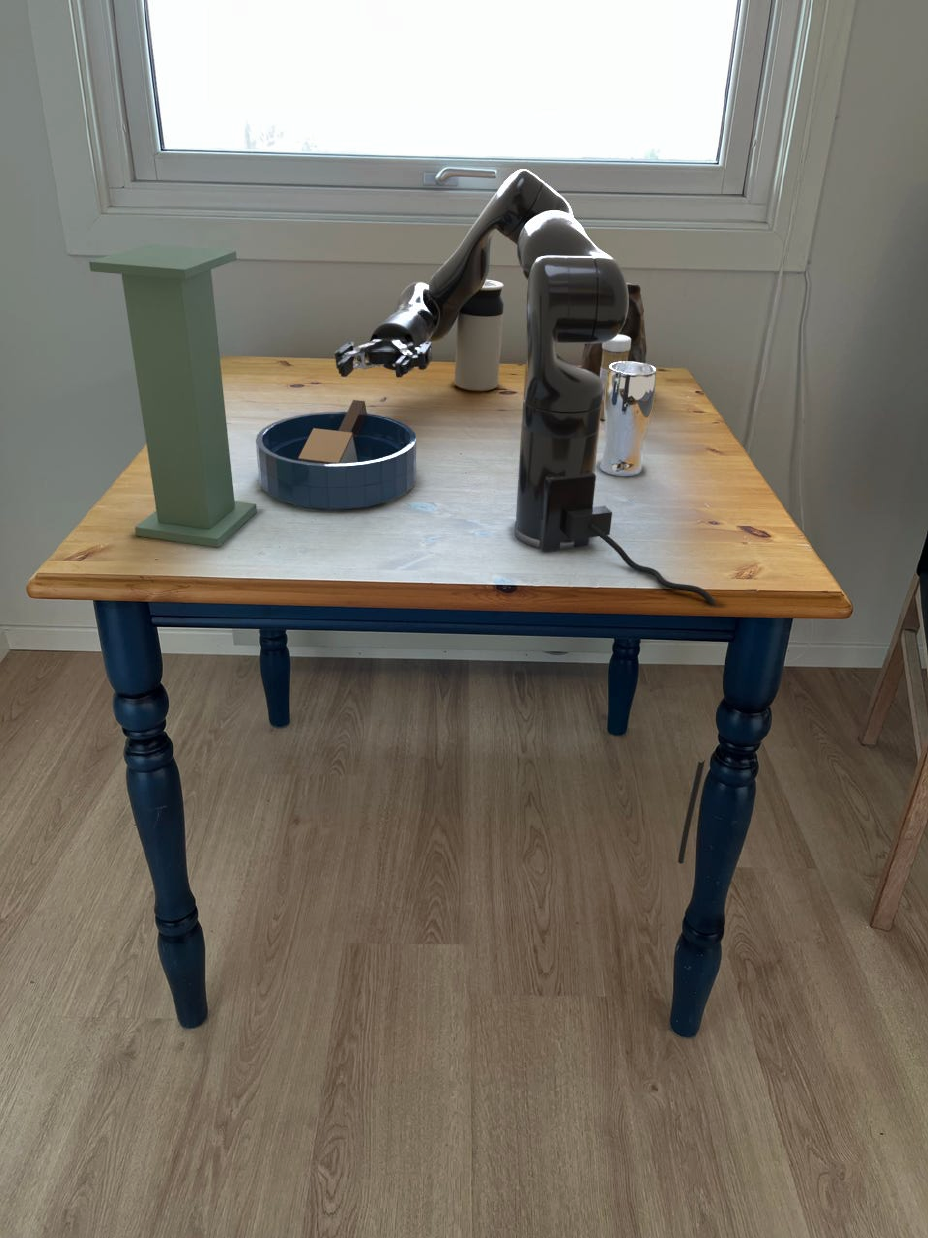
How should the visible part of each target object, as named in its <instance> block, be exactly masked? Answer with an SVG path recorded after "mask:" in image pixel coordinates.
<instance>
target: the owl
mask: <svg viewBox="0 0 928 1238" xmlns="http://www.w3.org/2000/svg"><path fill="white" fill-rule="evenodd" d="M627 287H628V294H629V308H628V314H627V318H626V321H625V324H624V326H623V328H622V329H621V331H620V332H619V335H625V336H628V337H630V338H631V347H630V350H629V353H628V362H640V363H645V364H647V361H646V359H647V357H646V356H647V353H648V351H647V348H648V347H647V342H646V341H647V339H646V338H647V337H646V331H645V330H646V329H645V317H644V316H645V315H644V312H645V309H644V304H643V297H642V294H641V286H640V285H639V284H634V283H631V282H627ZM602 354H603V348H602V343H597V344H583V349H582V354H581V366H580V367H581V368H584V369H586V370H589V371H591V372H593V373H595V374H596V375H597V376H599V377H600V370H601V363H602Z"/></svg>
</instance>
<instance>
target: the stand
mask: <svg viewBox="0 0 928 1238" xmlns="http://www.w3.org/2000/svg"><path fill="white" fill-rule="evenodd" d="M237 259H238V257H237V250H234V249H233V250H232V249H231V250H230V249H220V248H208V247H207V248H203V247H192V246H179V245H169V244H168V245H167V244H154V243H147V244H144V245H140V246H137V247H133V248H129V249H126V250H123V251H119V252H117V253H112V254H110V255H106V256H102V257H99V258H96V259H92V260H89V262H88V264H89V270H90V272H92V273H93V272H94V273H106V274H118V275H121V280H122V288H123V293H124V294H123V295H124V302H125V308H126V314H127V315H126V316H127V322H128V328H129V335H130V343H131V348H132V355H133V362H134V368H135V369H134V370H135V377H136V382H137V388H138V396H139V397H138V398H139V403H140V409H141V416H142V422H143V429H144V437H145V443H146V450H147V458H148V464H149V471H150V478H151V485H152V491H153V497H154V504H155V505H154V506H155V511H153V513H151V514H150V515H148V516H147V517H145V519H143V520H142V521H140V522H139V523H138V524H137V525H135V526H134V530H135V536H136V537H141V538H149V539H155V540H156V539H157V540H162V541H164V540H165V541H170V542H178V543H185V544H192V545H198V546H205V547H211V548H212V547H213V548H219V547H221V546H222V545H223V544H224V543H225V542H226V541H227V540H229V538H230V537H232V535H233V534H235V533H236V532H237V531H238V530H239V529H240V528H241V527H243V525H244V524H246V523H247V522H248V521H249V520H250V519H251V518H252V517H254V515H255V514H257V513H258V506H257V503H255V502H254V503H253V502H247V501H239V500H235V494H234V484H233V482H234V481H233V472H232V463H231V454H230V453H231V452H230V443H229V434H228V433H229V432H228V424H227V415H226V404H225V394H224V385H223V376H222V375H223V373H222V365H221V364H222V363H221V356H220V345H219V335H218V334H219V333H218V326H217V316H216V306H215V297H214V296H215V295H214V286H213V275H212V270H213V269H216V268H219V267H221V266H224V265H226V264H227V265H228V264H229V263H232V262H235V261H237Z"/></svg>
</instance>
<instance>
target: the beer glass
mask: <svg viewBox="0 0 928 1238" xmlns="http://www.w3.org/2000/svg"><path fill="white" fill-rule="evenodd" d="M656 381H657V368H656V367H655V366H653V365H651V364H648V363H646V364H645V363H640V362H616V363H613V364H611V365H610V366H609V373H608V378H607V383H606V390H605V398H604V419H605V420H604V431H605V433H604V435H605V444H604V450H603V454H602V456H601V461H600V464H599V467H600V470H601V471H602V472H604V473H606V474H607V475H612V476H616V477H632V476H637V475H639V474H640V473H641V472H642V469H643V465H642V450H643V449H642V448H643V442H644V440H645V435H646V432H647V430H648V426H649V423H650V420H651V417H652V412H653V408H654V402H655V397H656V385H657V384H656Z"/></svg>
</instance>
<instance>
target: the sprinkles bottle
mask: <svg viewBox="0 0 928 1238" xmlns="http://www.w3.org/2000/svg"><path fill="white" fill-rule="evenodd" d="M630 347H631V338H630V337H628V336H625V335H619V334H618V335H617V336H616V337H614V338H613V339H612V340H609V341H607V342H603V343H602V348H603V354H602V363H601V370H600V378H601V380H602V382H603V387H604V389H603V400H602V408H601V418H600V420H603V421H605V419H604V398H605V390H606V383H607V378H608V373H609V366H610V365H611V364H613V363H616V362H628V353H629V350H630Z"/></svg>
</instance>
